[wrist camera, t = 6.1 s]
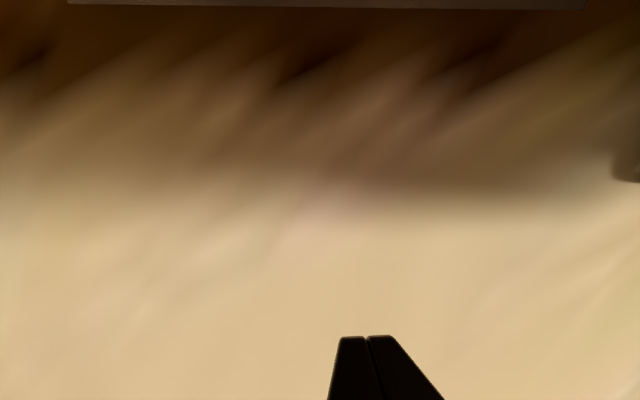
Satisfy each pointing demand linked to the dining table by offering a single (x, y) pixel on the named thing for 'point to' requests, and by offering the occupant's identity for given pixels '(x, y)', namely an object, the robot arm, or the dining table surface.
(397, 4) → the bearing housing
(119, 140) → the dining table surface
